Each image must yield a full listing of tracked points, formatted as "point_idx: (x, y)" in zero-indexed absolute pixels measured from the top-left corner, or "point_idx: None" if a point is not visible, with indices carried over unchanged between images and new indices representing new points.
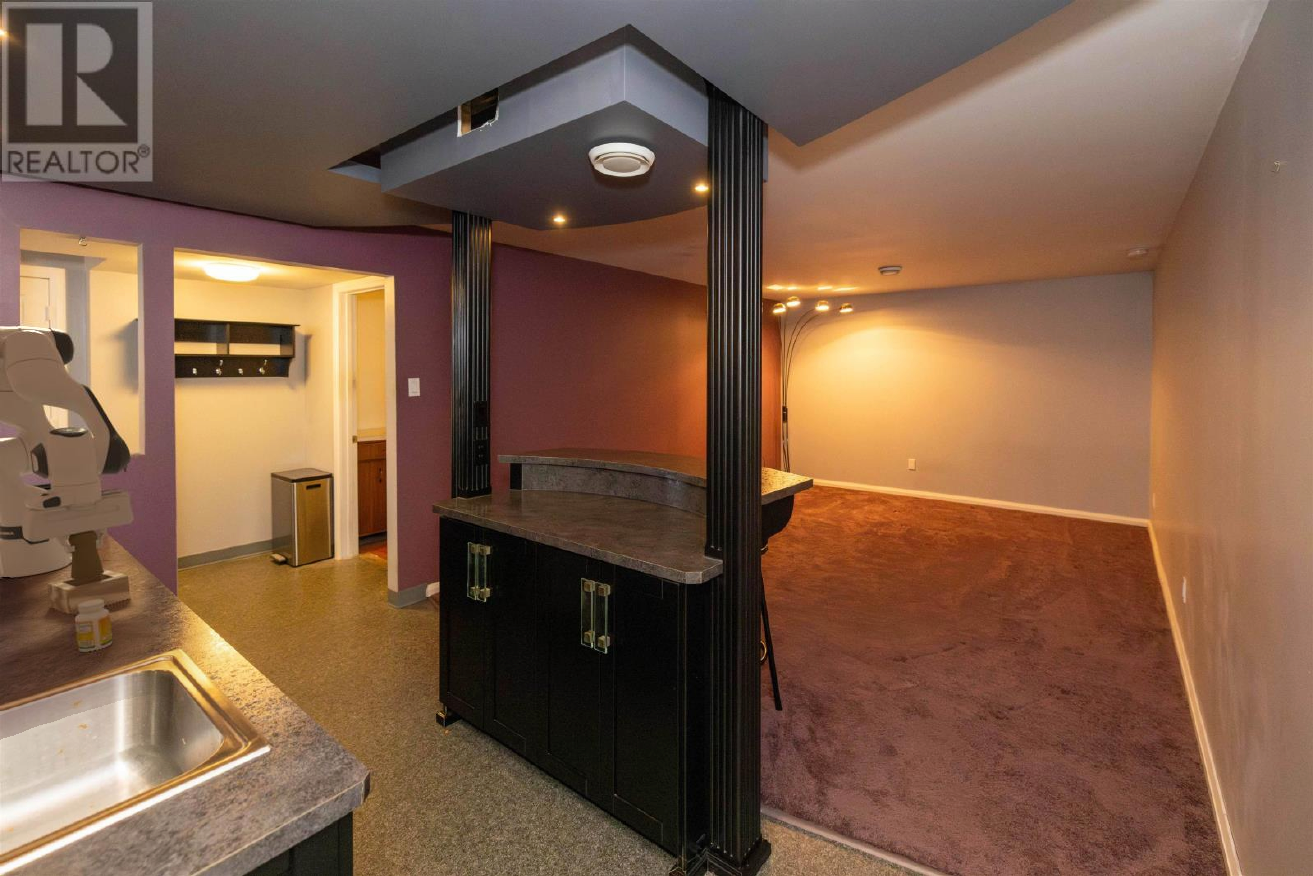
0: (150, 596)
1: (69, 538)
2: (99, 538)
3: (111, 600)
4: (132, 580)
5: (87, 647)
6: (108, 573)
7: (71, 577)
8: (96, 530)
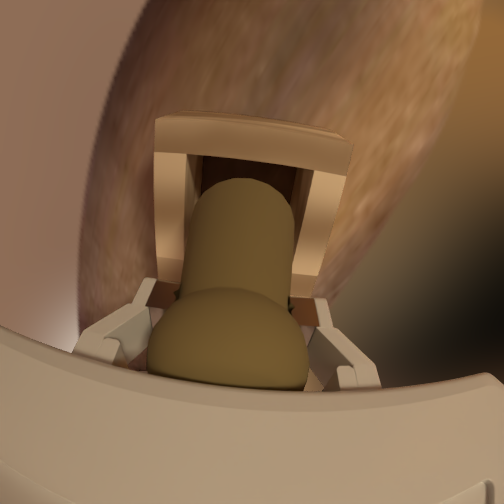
0: (324, 279)
1: (147, 365)
2: (310, 359)
3: None
4: (420, 100)
5: None
6: (317, 213)
7: (192, 214)
8: (337, 379)
